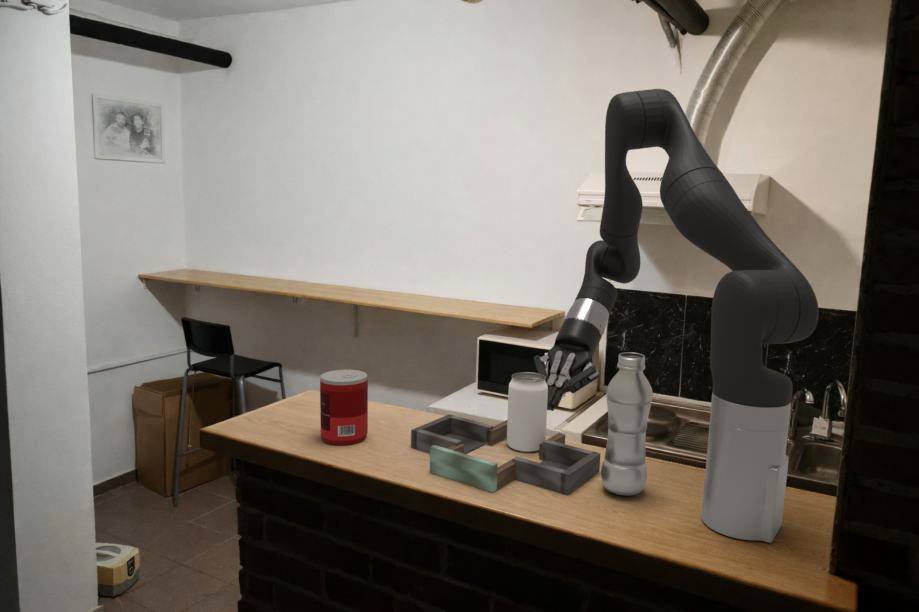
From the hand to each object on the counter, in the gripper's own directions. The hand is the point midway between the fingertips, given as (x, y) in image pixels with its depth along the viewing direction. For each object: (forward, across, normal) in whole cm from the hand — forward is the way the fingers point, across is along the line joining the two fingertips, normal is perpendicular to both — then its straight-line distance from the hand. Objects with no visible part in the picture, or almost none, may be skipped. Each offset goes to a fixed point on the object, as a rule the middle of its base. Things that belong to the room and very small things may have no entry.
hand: (547, 407), depth 122 cm
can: (+9, 0, -1) cm, 9 cm away
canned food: (+20, -26, -13) cm, 35 cm away
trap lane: (+14, 0, -7) cm, 15 cm away
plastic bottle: (+13, +20, -6) cm, 25 cm away
